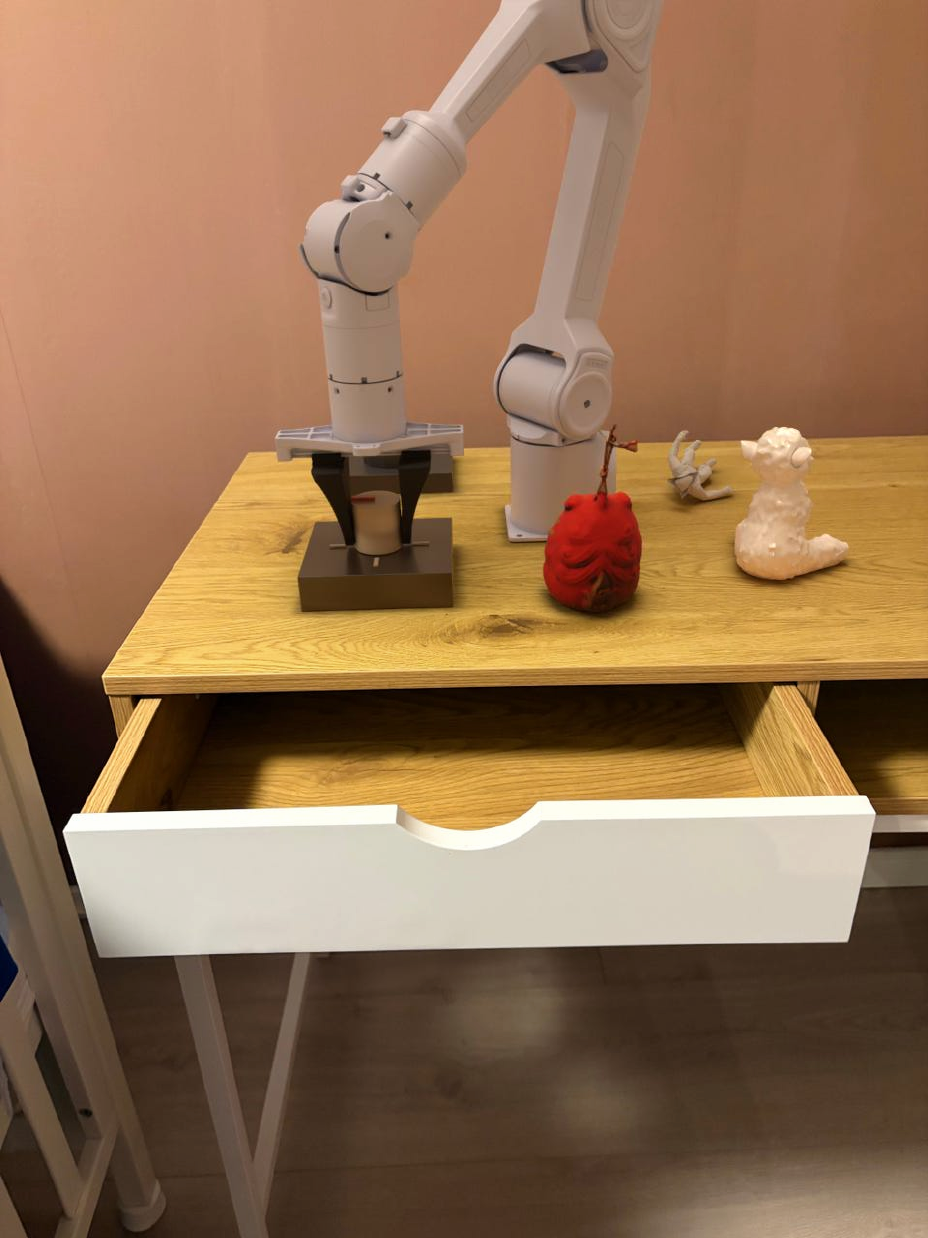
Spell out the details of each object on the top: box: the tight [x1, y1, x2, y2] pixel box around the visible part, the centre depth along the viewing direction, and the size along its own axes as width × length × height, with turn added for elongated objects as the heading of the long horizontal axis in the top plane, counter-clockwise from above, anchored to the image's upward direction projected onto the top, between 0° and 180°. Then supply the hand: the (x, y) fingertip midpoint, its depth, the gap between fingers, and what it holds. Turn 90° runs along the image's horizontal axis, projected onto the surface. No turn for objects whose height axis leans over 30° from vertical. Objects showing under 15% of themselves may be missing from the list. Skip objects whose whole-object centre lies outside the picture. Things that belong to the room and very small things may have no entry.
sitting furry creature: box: [733, 426, 850, 581], centre depth 76 cm, size 10×9×12 cm
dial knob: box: [351, 491, 403, 555], centre depth 76 cm, size 4×4×4 cm
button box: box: [349, 453, 454, 496], centre depth 99 cm, size 12×10×4 cm
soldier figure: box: [666, 430, 735, 501], centre depth 93 cm, size 8×5×12 cm
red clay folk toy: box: [542, 423, 643, 613], centre depth 71 cm, size 8×7×15 cm
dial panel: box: [296, 517, 454, 612], centre depth 78 cm, size 12×11×3 cm
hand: (378, 539), depth 77 cm, fingers closed on dial knob, 4 cm apart
